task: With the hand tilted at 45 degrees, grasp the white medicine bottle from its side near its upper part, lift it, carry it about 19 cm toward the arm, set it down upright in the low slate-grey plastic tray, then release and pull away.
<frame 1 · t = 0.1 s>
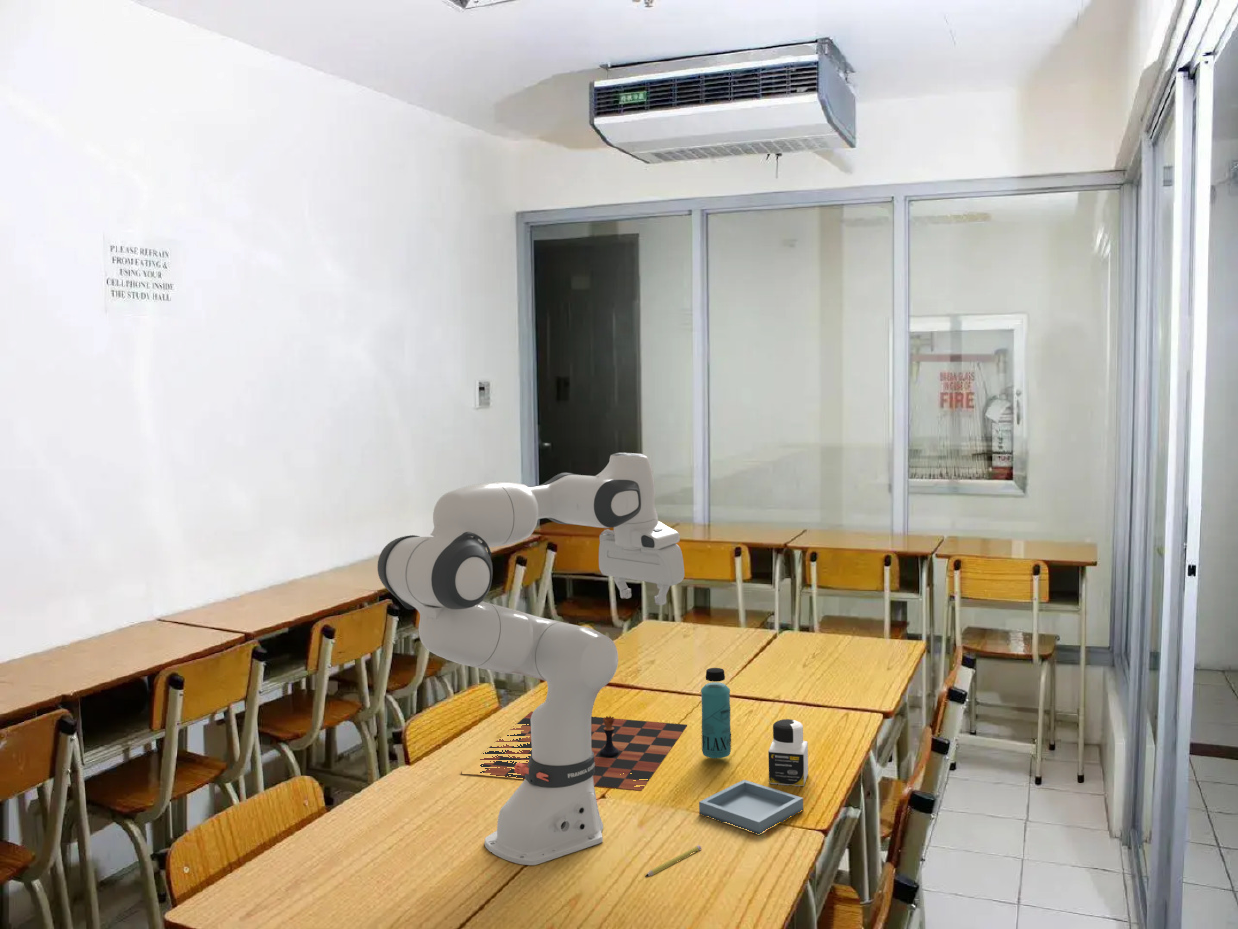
hand: (643, 601, 208), 39 cm above the table, tool pointing down, fingers open, 8 cm apart
chessboard: (580, 752, 236), on the table
pencil: (672, 865, 180), on the table
beverage bottle: (716, 760, 227), on the table
tray: (751, 812, 199), on the table
medicine bottle: (788, 780, 215), on the table
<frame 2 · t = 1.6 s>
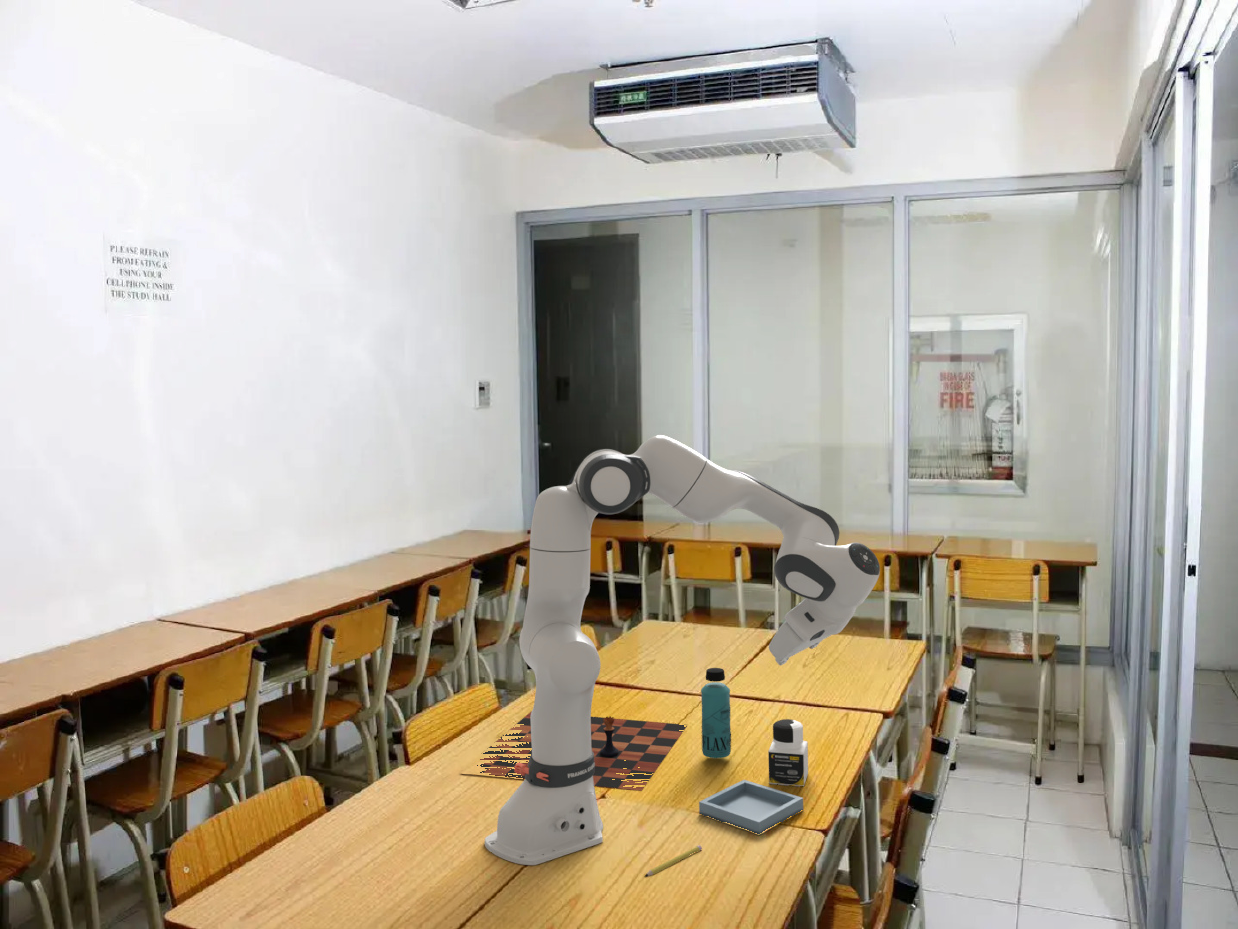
hand: (795, 653, 207), 28 cm above the table, tool tilted 40°, fingers open, 8 cm apart
nothing on the table moved.
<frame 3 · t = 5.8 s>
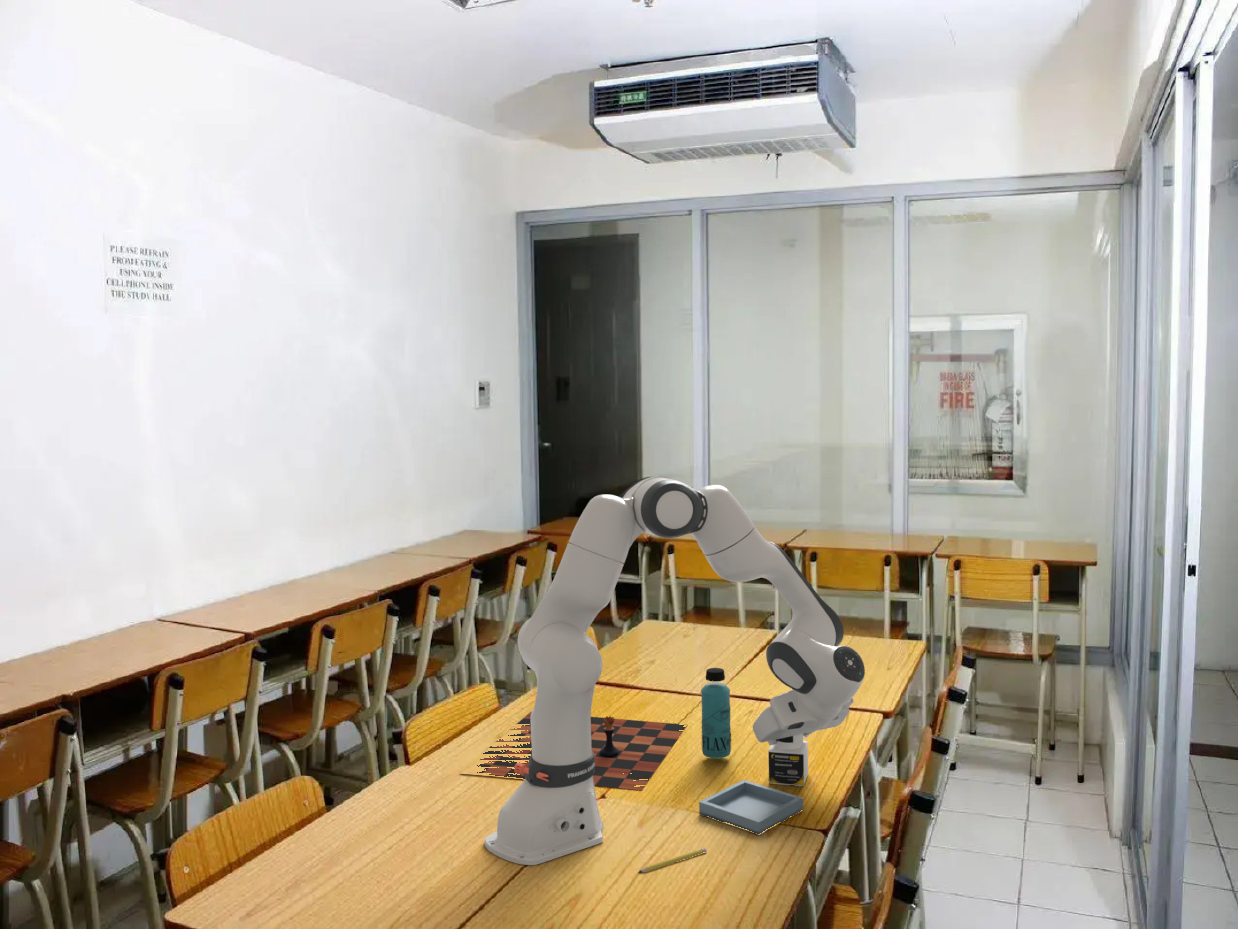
hand: (786, 738, 215), 8 cm above the table, tool tilted 45°, fingers closed on medicine bottle, 6 cm apart
medicine bottle: (788, 780, 215), on the table, touching gripper
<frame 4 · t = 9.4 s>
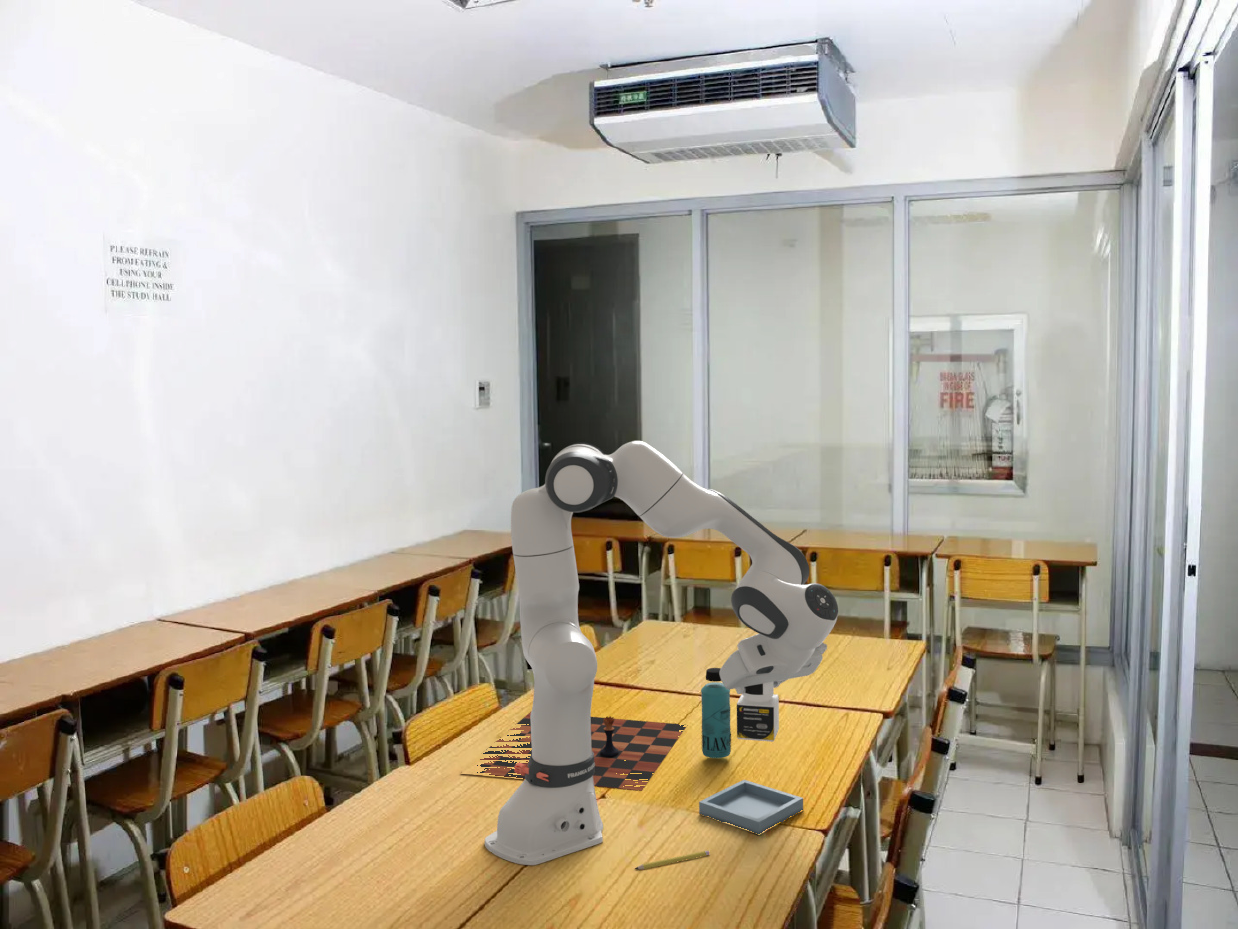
hand: (755, 687, 202), 23 cm above the table, tool tilted 45°, fingers closed on medicine bottle, 6 cm apart
medicine bottle: (758, 735, 202), point 14 cm above the table, touching gripper
when the fingers open (11 cm above the table, at t = 13.3 s): medicine bottle stays where it is, resting on tray.
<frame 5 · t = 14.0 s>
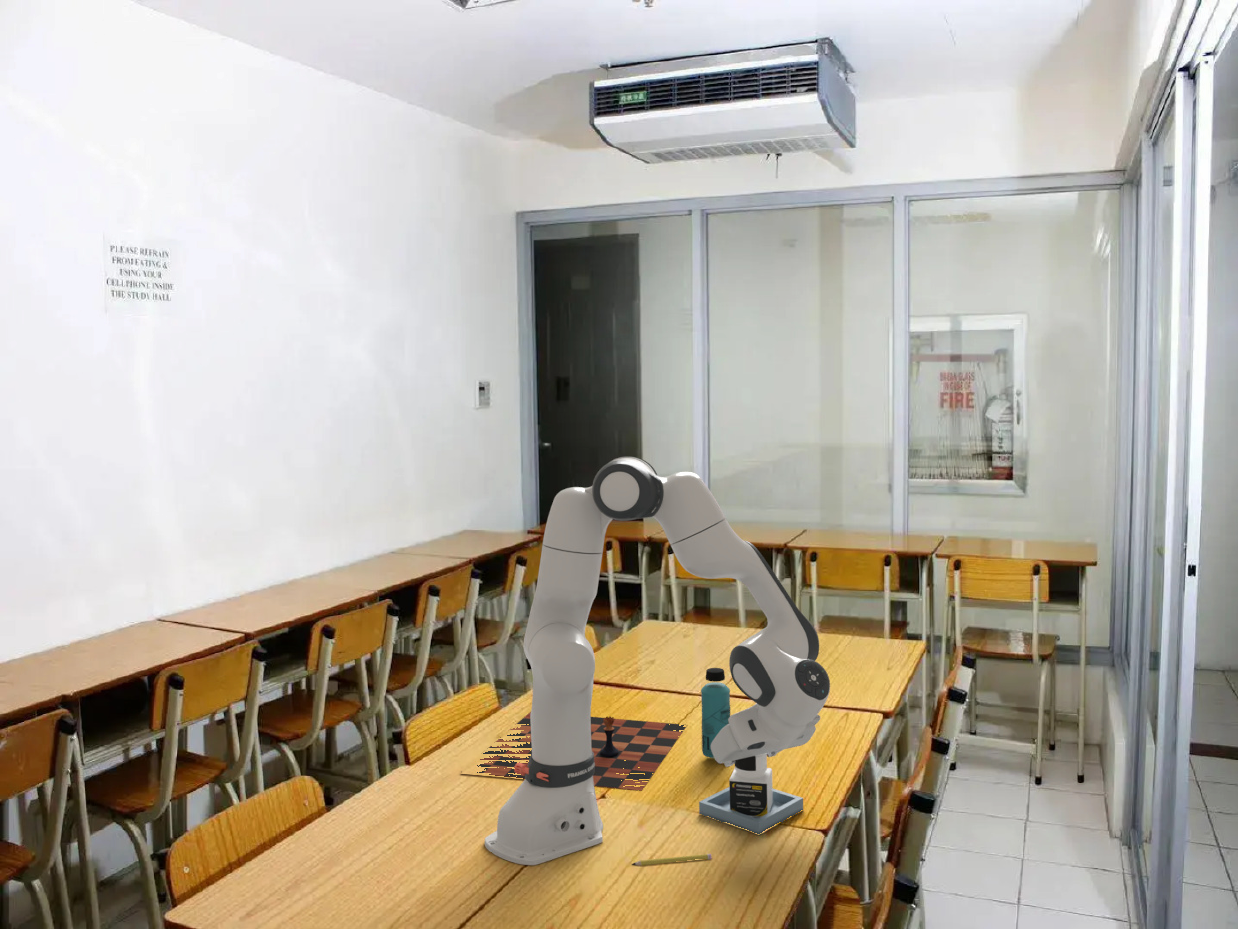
hand: (748, 758, 199), 10 cm above the table, tool tilted 45°, fingers open, 8 cm apart
medicine bottle: (751, 810, 199), resting on tray
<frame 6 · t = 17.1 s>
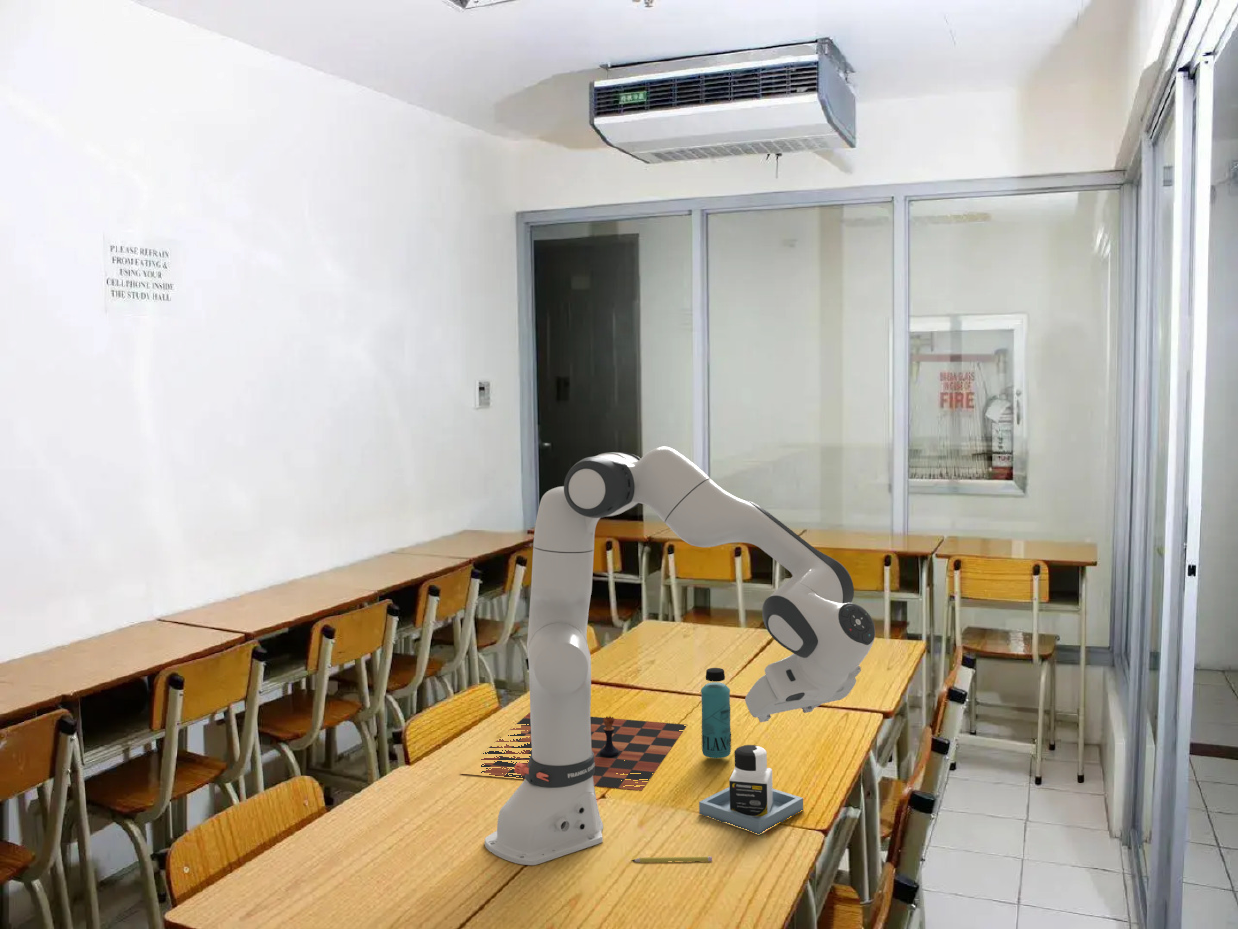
hand: (783, 713, 187), 23 cm above the table, tool tilted 45°, fingers open, 8 cm apart
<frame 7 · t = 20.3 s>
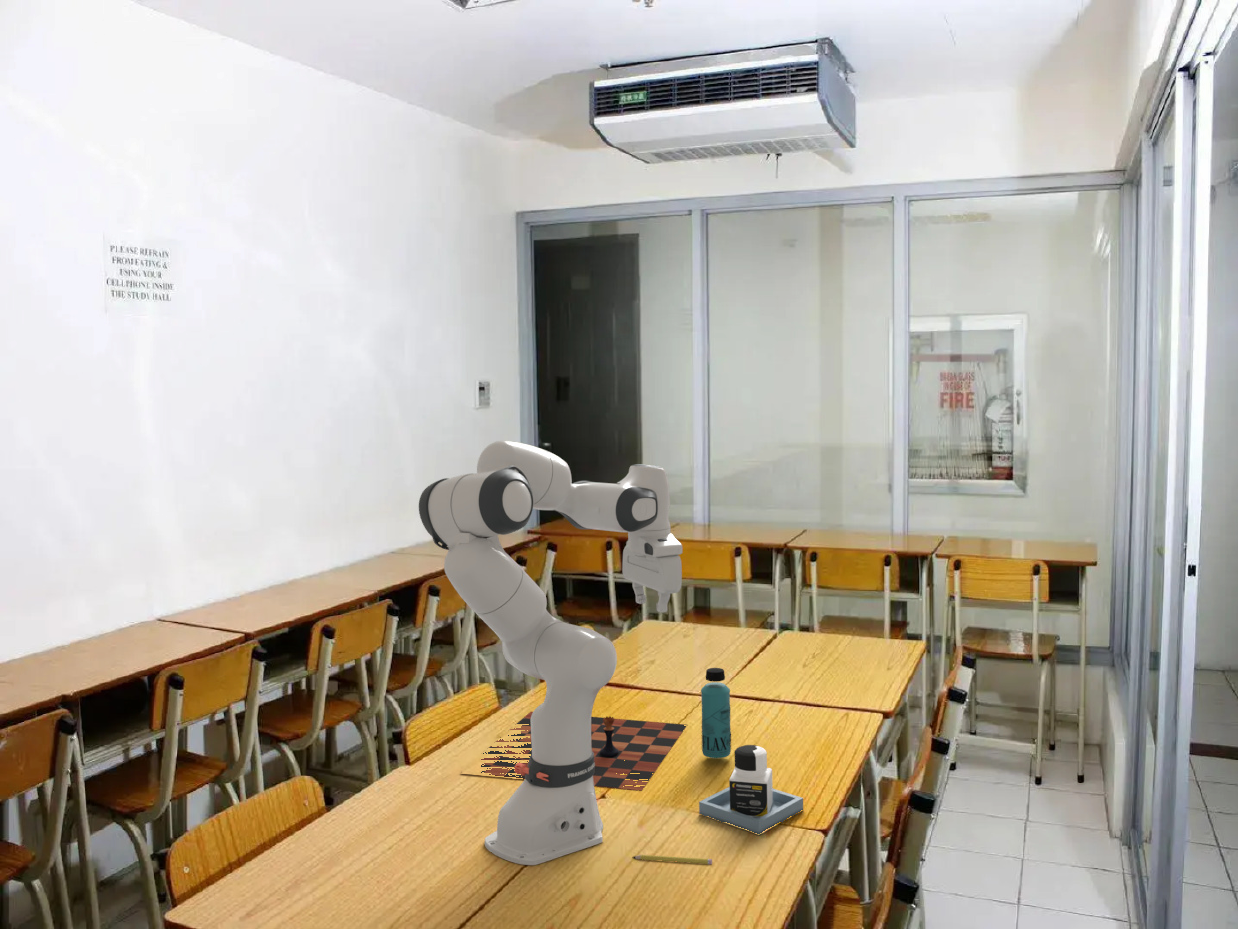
hand: (651, 607, 218), 35 cm above the table, tool pointing down, fingers open, 8 cm apart
at the end: medicine bottle inside the target area on the tray (0.1 cm from its centre), point 0.4 cm above the tray's base; medicine bottle tilted 0°; the gripper is holding nothing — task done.
